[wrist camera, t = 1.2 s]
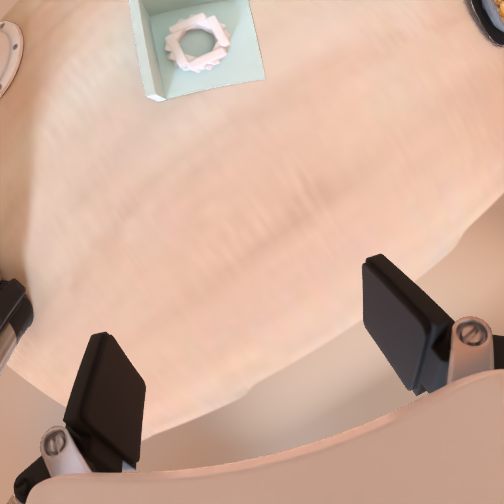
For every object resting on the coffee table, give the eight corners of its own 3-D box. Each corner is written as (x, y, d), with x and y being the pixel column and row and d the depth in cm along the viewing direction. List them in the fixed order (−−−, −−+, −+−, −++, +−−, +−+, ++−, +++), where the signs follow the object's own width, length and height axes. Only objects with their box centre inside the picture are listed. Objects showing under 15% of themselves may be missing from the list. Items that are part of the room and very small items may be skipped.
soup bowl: (453, -3, 24) (484, -10, 17) (471, -35, 19) (496, -42, 12) (499, 61, 29) (529, 62, 22) (512, 21, 24) (537, 20, 18)
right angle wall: (158, 101, 28) (145, 96, 21) (141, 12, 23) (126, -13, 16) (265, 79, 29) (282, 68, 22) (245, -9, 23) (256, -37, 17)
